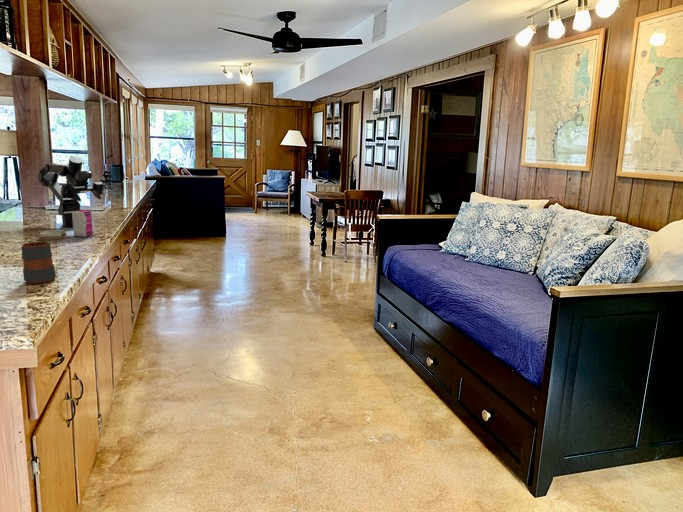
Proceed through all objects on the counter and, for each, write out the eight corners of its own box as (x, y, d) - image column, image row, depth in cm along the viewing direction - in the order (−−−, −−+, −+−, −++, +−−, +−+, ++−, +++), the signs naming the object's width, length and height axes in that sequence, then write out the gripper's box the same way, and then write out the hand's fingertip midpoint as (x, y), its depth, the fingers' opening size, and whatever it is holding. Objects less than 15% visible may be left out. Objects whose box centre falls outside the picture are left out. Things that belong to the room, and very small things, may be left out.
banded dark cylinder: (58, 273, 170) (53, 238, 168) (55, 282, 160) (50, 245, 157) (27, 276, 167) (22, 240, 164) (22, 286, 156) (17, 247, 154)
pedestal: (44, 236, 235) (43, 230, 234) (66, 235, 237) (66, 229, 237) (39, 240, 226) (38, 233, 226) (62, 239, 229) (61, 232, 228)
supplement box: (85, 237, 233) (82, 212, 231) (73, 237, 234) (70, 211, 232) (93, 235, 239) (91, 210, 236) (82, 234, 240) (79, 210, 237)
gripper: (57, 167, 240) (71, 186, 233) (97, 166, 254) (112, 183, 247) (54, 188, 245) (69, 206, 239) (94, 185, 259) (109, 203, 252)
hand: (90, 199), depth 244 cm, fingers open, 9 cm apart
